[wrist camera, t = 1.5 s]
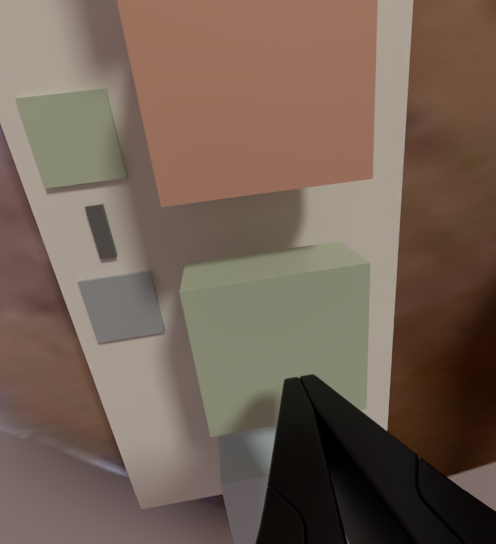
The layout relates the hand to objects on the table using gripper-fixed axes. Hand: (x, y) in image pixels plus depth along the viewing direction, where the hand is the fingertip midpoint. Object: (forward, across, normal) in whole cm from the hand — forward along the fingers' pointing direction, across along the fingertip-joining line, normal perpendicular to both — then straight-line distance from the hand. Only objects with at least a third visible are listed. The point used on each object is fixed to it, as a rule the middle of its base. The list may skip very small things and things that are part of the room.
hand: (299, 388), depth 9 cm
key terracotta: (+4, 0, -8) cm, 9 cm away
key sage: (+4, 0, 0) cm, 4 cm away
